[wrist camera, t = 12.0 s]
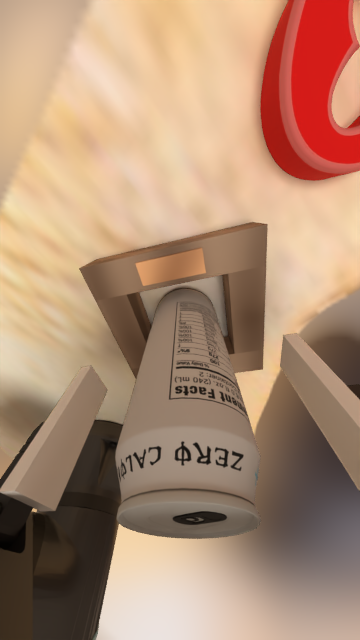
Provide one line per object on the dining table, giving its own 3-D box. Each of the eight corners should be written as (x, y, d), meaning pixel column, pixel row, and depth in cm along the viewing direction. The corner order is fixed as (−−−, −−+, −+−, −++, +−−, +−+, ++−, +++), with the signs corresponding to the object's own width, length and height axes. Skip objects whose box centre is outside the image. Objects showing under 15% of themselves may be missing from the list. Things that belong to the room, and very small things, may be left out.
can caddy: (144, 366, 23) (138, 387, 20) (95, 259, 16) (77, 269, 13) (253, 350, 21) (263, 371, 18) (252, 222, 14) (269, 224, 11)
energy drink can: (145, 307, 19) (59, 516, 6) (191, 272, 17) (215, 476, 4) (180, 342, 21) (174, 545, 8) (224, 316, 19) (307, 531, 6)
